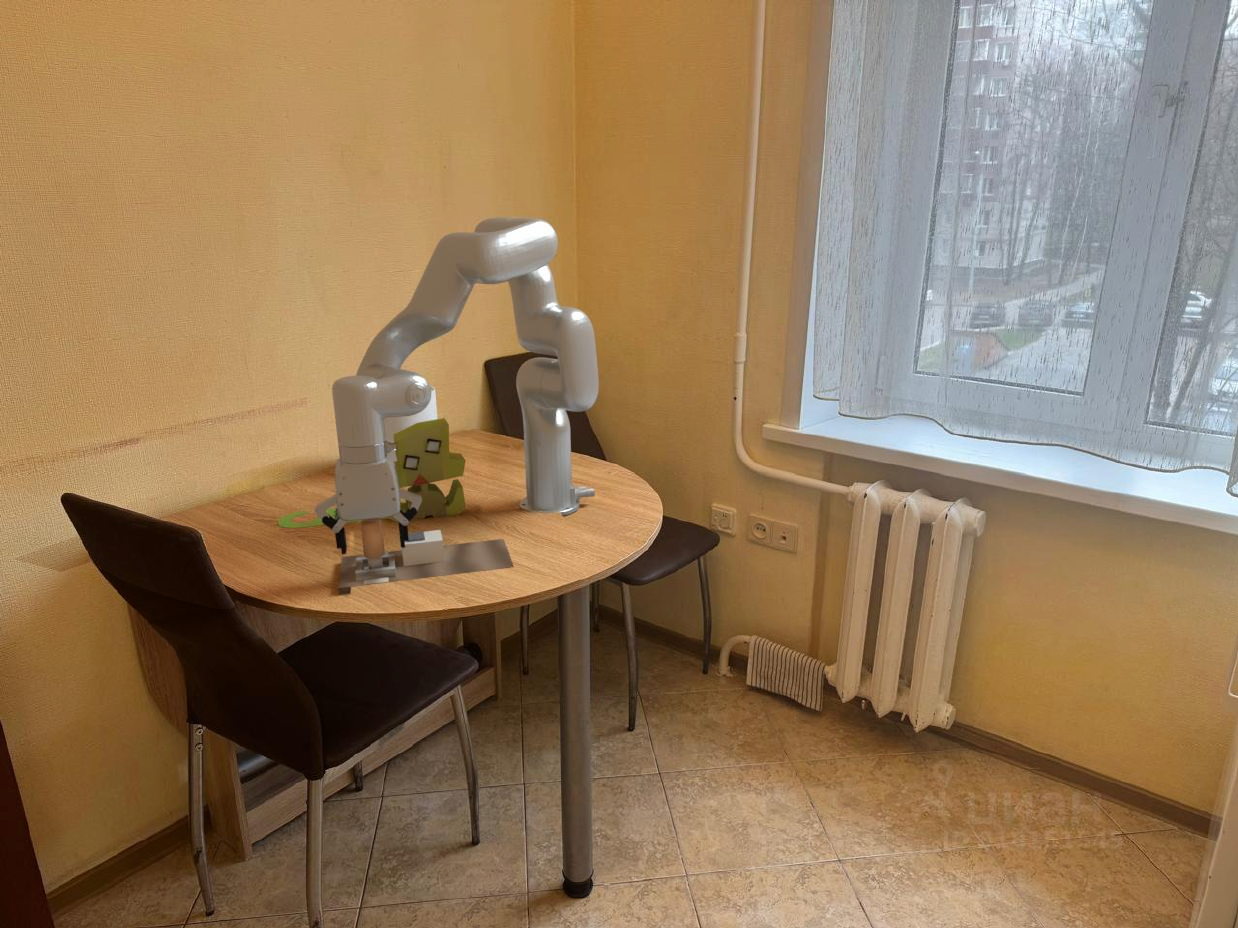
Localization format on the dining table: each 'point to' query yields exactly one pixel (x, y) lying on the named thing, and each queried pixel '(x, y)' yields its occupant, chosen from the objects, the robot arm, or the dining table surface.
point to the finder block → (423, 548)
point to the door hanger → (287, 523)
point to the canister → (409, 420)
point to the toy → (429, 468)
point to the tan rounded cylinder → (373, 542)
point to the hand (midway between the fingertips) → (373, 548)
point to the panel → (455, 556)
